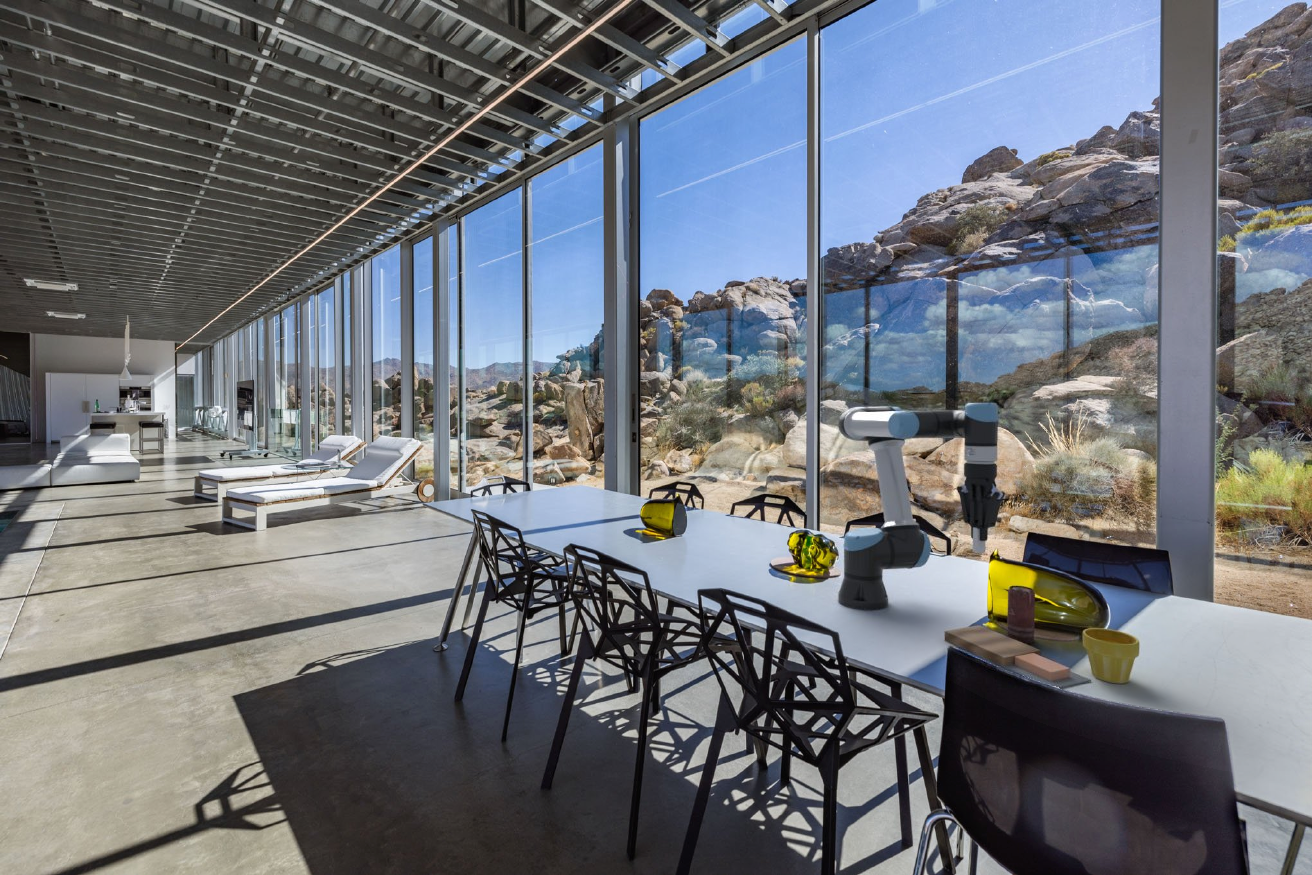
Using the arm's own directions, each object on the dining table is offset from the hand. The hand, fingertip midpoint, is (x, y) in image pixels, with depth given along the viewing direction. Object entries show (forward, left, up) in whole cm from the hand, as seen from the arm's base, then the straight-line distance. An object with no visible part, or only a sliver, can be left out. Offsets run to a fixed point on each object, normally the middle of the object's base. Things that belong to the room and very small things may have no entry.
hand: (978, 552), depth 154 cm
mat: (+19, 0, -24) cm, 31 cm away
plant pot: (+25, +12, -25) cm, 37 cm away
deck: (+4, 0, -24) cm, 25 cm away
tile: (+18, 0, -24) cm, 30 cm away
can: (+2, +13, -25) cm, 28 cm away
